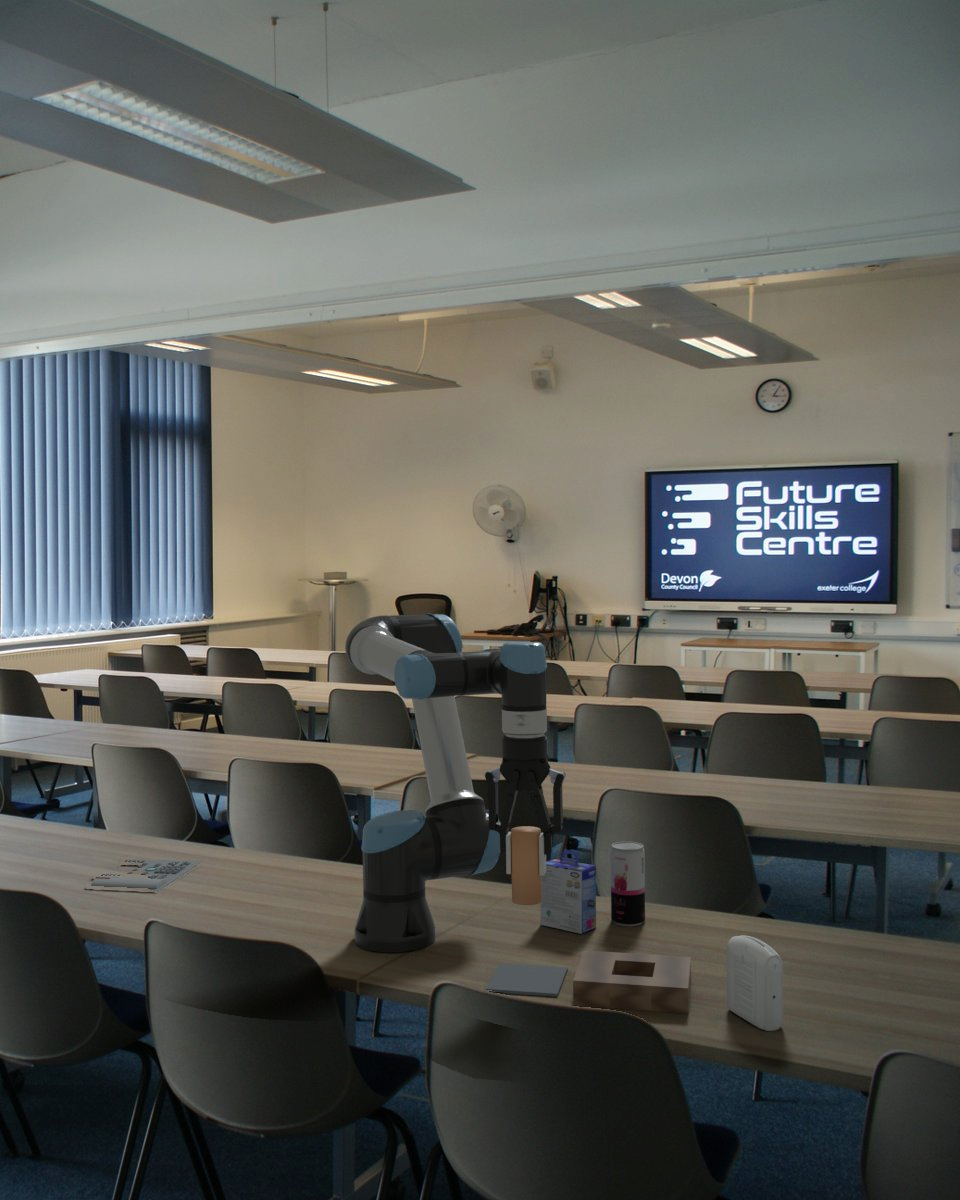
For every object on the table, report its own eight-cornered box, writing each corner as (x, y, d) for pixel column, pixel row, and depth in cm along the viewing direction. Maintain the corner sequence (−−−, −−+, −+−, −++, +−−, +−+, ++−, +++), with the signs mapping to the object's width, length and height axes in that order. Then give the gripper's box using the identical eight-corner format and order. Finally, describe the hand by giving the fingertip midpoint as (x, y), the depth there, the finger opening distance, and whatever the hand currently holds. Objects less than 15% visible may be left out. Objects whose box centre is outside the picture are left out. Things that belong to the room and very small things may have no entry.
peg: (509, 904, 188) (508, 832, 187) (514, 895, 193) (513, 825, 192) (539, 905, 187) (538, 833, 186) (543, 897, 192) (542, 826, 191)
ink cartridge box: (598, 927, 217) (597, 853, 217) (582, 935, 213) (582, 859, 212) (555, 918, 223) (554, 845, 223) (539, 925, 219) (538, 851, 218)
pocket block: (573, 1005, 180) (573, 980, 180) (584, 973, 193) (584, 950, 193) (688, 1013, 176) (688, 988, 176) (691, 980, 190) (691, 957, 189)
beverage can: (622, 928, 216) (621, 851, 216) (605, 919, 222) (604, 843, 222) (651, 924, 219) (650, 847, 218) (633, 914, 225) (633, 839, 224)
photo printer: (787, 1028, 170) (787, 947, 170) (764, 1033, 168) (764, 951, 168) (745, 1004, 179) (744, 927, 179) (722, 1009, 178) (722, 931, 177)
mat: (485, 991, 186) (485, 988, 186) (499, 965, 198) (499, 963, 198) (557, 996, 183) (557, 993, 183) (567, 970, 195) (567, 967, 195)
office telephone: (159, 884, 244) (73, 881, 247) (159, 896, 244) (73, 893, 247) (202, 855, 267) (123, 852, 270) (203, 866, 267) (123, 863, 270)
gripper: (467, 736, 187) (469, 876, 188) (574, 739, 183) (576, 881, 184) (477, 730, 194) (479, 864, 195) (580, 732, 191) (582, 868, 191)
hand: (526, 872), depth 190 cm, fingers closed on peg, 5 cm apart
